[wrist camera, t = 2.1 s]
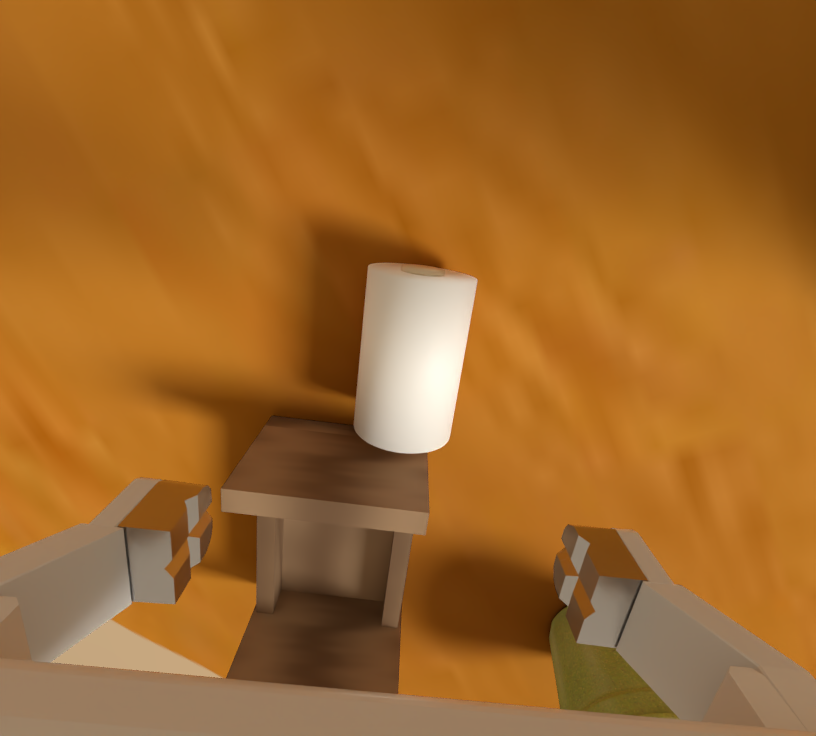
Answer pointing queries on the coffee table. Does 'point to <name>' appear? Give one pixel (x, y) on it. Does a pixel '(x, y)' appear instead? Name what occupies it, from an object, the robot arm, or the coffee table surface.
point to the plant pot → (599, 678)
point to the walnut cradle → (327, 554)
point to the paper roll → (411, 355)
